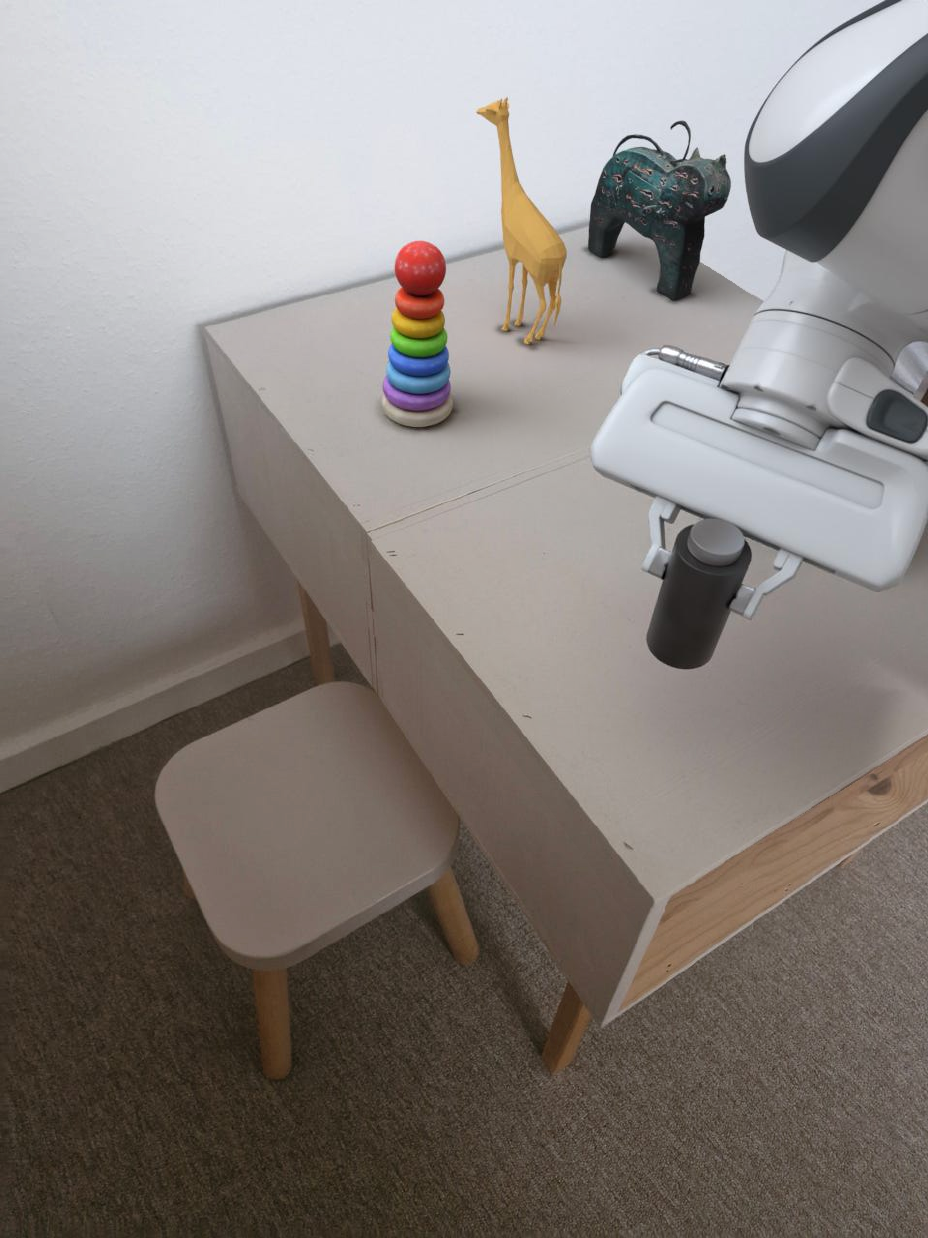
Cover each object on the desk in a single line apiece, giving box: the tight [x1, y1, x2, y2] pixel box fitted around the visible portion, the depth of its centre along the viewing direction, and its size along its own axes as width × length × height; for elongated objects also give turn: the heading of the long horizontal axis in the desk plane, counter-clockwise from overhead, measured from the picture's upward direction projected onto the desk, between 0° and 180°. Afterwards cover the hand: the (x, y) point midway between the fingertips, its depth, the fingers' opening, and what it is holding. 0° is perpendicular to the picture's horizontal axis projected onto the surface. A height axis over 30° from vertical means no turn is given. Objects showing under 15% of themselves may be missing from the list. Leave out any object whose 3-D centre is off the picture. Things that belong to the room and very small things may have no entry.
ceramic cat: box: [587, 120, 732, 301], centre depth 112 cm, size 20×6×20 cm, turn 37°
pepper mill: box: [645, 519, 753, 671], centre depth 54 cm, size 5×5×10 cm
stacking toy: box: [380, 240, 454, 428], centre depth 88 cm, size 8×8×19 cm
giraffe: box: [475, 96, 568, 346], centre depth 99 cm, size 16×4×25 cm, turn 39°
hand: (695, 595), depth 53 cm, fingers closed on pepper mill, 4 cm apart
